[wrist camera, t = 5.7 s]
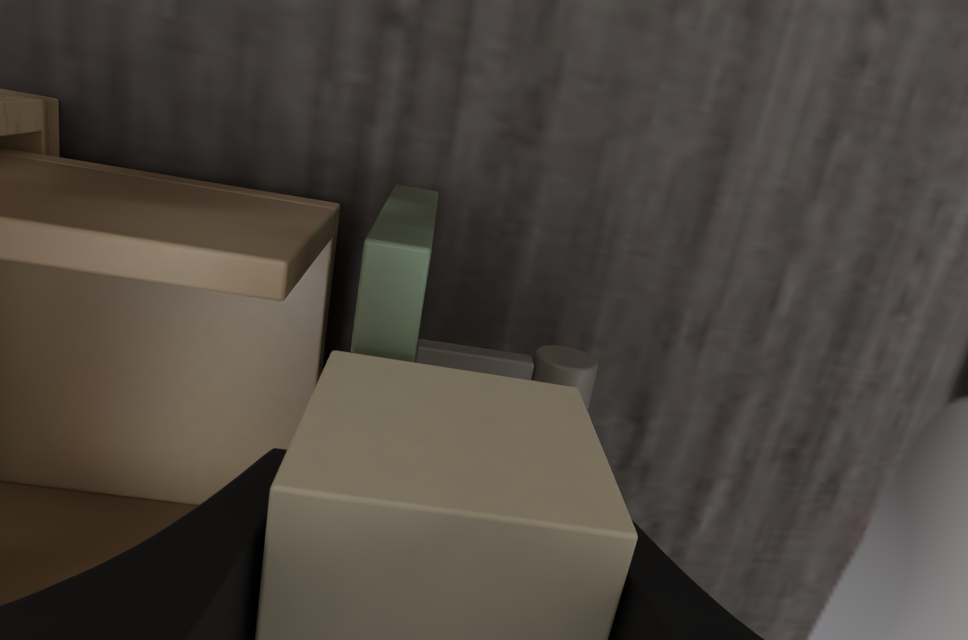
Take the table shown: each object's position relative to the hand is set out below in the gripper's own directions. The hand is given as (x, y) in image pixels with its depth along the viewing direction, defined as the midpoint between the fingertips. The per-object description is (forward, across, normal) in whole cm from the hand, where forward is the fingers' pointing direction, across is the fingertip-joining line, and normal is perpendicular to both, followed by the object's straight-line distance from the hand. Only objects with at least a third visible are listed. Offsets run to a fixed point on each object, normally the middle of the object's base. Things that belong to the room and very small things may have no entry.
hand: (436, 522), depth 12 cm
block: (+1, 0, 0) cm, 1 cm away
